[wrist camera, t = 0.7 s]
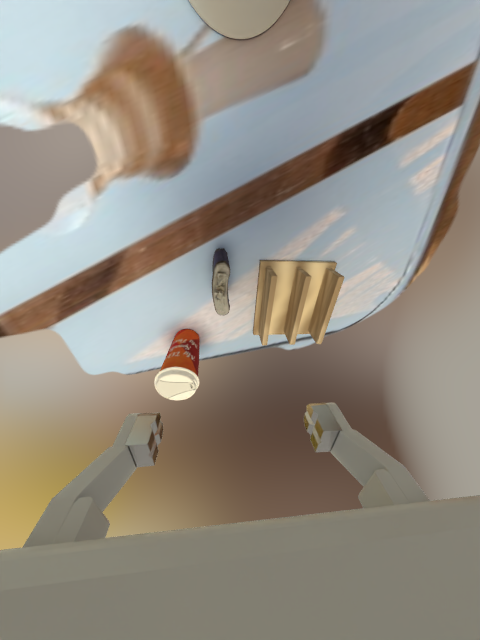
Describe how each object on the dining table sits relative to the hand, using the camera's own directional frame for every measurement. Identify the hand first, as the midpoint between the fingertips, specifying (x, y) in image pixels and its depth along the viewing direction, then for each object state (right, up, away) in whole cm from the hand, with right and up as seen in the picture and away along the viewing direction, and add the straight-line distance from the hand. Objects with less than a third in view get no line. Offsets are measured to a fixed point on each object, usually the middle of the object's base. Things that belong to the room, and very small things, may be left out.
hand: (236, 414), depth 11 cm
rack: (+11, +10, +31) cm, 34 cm away
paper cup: (-12, +1, +34) cm, 36 cm away
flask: (-4, +15, +27) cm, 31 cm away
